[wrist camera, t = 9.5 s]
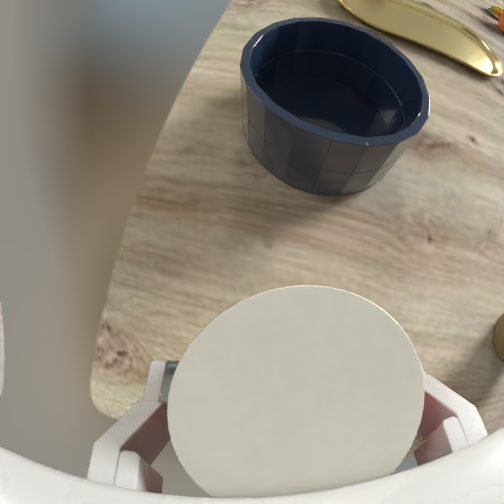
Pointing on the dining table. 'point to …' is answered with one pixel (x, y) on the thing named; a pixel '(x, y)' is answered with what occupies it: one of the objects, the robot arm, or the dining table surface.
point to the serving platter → (427, 31)
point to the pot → (328, 104)
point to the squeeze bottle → (499, 338)
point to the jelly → (295, 395)
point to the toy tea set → (498, 15)
